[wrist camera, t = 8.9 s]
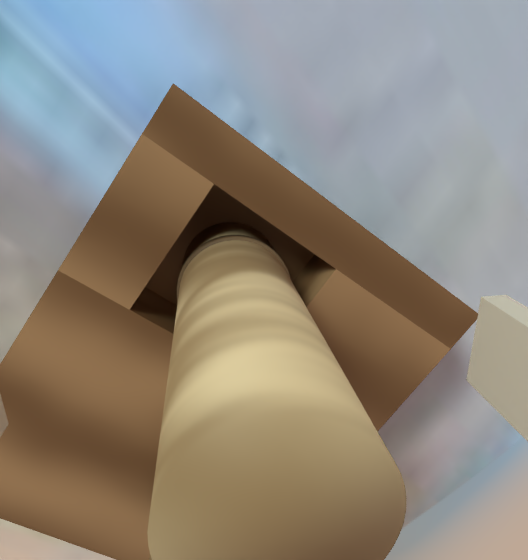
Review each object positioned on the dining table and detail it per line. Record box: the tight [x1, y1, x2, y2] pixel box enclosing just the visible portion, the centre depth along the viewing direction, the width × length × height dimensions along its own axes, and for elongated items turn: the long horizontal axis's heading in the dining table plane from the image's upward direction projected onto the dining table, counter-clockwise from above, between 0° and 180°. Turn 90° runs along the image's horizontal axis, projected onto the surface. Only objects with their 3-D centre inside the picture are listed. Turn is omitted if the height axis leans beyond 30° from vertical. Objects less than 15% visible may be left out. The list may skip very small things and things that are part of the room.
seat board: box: [0, 84, 478, 560], centre depth 17 cm, size 20×16×17 cm
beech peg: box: [147, 222, 406, 560], centre depth 14 cm, size 5×5×14 cm
